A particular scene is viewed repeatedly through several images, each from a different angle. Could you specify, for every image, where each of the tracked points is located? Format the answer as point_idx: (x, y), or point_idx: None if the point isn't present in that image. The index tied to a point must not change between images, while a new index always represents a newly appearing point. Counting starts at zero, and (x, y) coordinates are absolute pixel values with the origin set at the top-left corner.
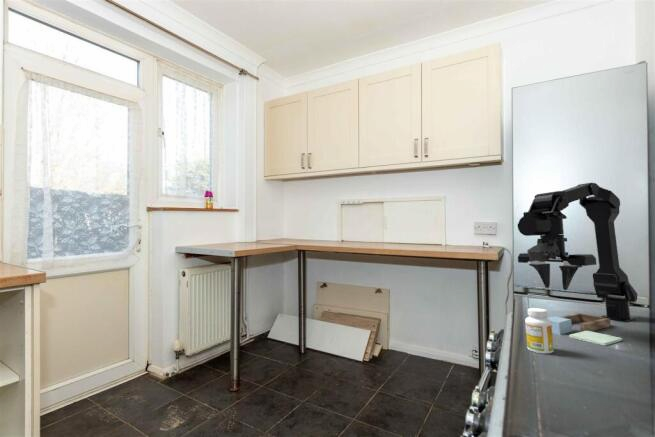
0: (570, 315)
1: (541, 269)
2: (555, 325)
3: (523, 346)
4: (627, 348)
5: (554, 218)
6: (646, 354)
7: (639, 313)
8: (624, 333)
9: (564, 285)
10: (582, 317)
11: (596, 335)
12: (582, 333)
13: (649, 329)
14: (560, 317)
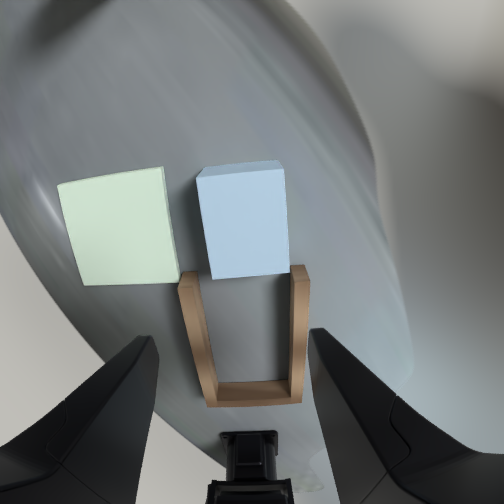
0: (296, 366)
1: (398, 490)
2: (216, 172)
3: None
4: (35, 218)
5: None
6: (2, 211)
7: None
8: None
9: (120, 357)
10: (281, 390)
11: (122, 249)
12: (156, 232)
13: (156, 413)
14: (260, 274)
